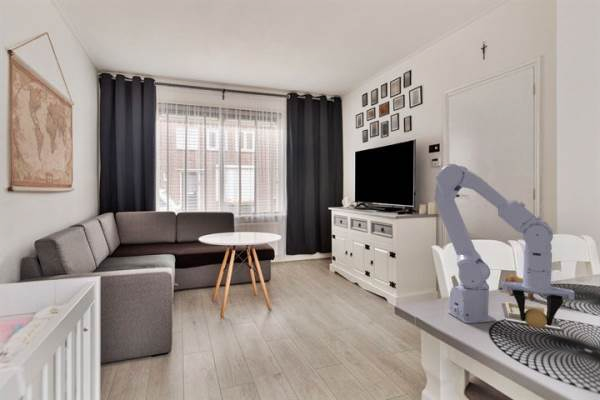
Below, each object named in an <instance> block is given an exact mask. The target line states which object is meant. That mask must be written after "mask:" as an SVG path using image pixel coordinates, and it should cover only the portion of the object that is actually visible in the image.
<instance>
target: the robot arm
mask: <svg viewBox="0 0 600 400" xmlns="http://www.w3.org/2000/svg"><path fill="white" fill-rule="evenodd" d="M435 181H436V183H435V184H436V185H435V189H434V197H433V198H434V202H435V204H436V206H437V209H438V212H439V214H440V217H441V219H442V222H443V224H444V227H445V229H446V231H447V234H448V236H449V240H450V241H451V244H452V246H453V248H454V252H455V254H456V265H457V266H458V279H459V284H458V285H457V286H453V287H452V288H451V290H450V292H449V310H447V312H448V314H450V315H451V316H454V317H455V318H456V319H459V320H460V321H462V322H464V324H465V323H466V324H473V323H474V324H475V323H487V322H496V321H497V319H496V318H495V317H492V316H490V315H489V303H490V301H489V299H490V295H489V294H490V285H489V284H488V283H487V280H488V279H489V277H490V275H491V269H490V266H489V265H488V264H487V263H486V262H485V261H484V260H483V259H482V257H481V254H480V253H479V252H478V251H477V250H476V249H475V245H474V243H473V241H472V238H471V237H470V233H469V232H468V229H467V227H466V224H465V222H464V220H463V218H462V214H461V213H460V210H459V207H458V205H457V203H456V200H455V199H456V197H457V195H458V194H459V191H460V190H462V188H465V189H469V190H473V191H474V192H476V193H477V194H478V195H480V196H481V197H482V198H483V199H485V200H486V201H487V202H488V203H490V204H491V205H492V206H493V207H495V208H496V209H497V216H499V218H501V219H502V221H504V222H505V223H506V224H507V225H509V226H510V227H511V228H512V229H513V230H514V231H516V233H519V234H520V233H521V234H522V238H523V240H524V241H525V243H524V245H525V246H524V250H523V270H522V271H523V273H522V278H523V283H518V282H508V281H507V282H505V281H502V287H501V288H503V289H502V290H503V291H505V292H507V291H508V290H509V291H511V293H513V295H512V296H513V297H514V299H515V301H516V304H518V307H519V311H520V319H521V321H525V305H526V296H525V295H526V294H528V293H532V294H533V295H540V296H546V308H547V314H546V317H547V325H548V326H551V324H552V321H553V318H554V319H555V315H557V312H558V310H559V309H560V308H561V307H562V305H563V304H564V299H568V300H570V301H571V300H572V301H573V300H575V291H574V290H572V289H567V288H562V287H556V286H552V265H553V264H552V263H553V262H552V261H553V253H552V249H553V245H552V243H551V242H552V241H553V238H554V230H553V228H552V227H551V226H550V225H549V224H548V222H546V221H542V217H541V216H539V215H538V216H536V215H535V214H534V213H532V212H531V211H530V210H528V208H526V204H525V203H524V202H522V201H520V202H518V200H515V199H514V200H511V199H510V200H508V199H506V198H505V197H504V196H503V195H502V194H501V193H500V192H498V191H497V190H496V189H495V188H493V186H491V185H490V184H489V183H488V182H487V181H485V180H484V179H483V178H482V177H480V176H479V175H478V174H476V173H474V172H472V170H469V169H468V168H467V167H465V166H463V165H457V164H456V163H448V164H446V165H443V166H442V167H441V169H440V170H439V172H438V173H437V175H436V176H435Z"/></svg>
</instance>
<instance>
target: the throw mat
mask: <svg viewBox="0 0 600 400" xmlns="http://www.w3.org/2000/svg"><path fill="white" fill-rule="evenodd" d="M501 307H502V310H503V315H504V317H505V321H506V322H508V323H512V324H519V325H523V326H529V325H528V324H527V323H526V321H521V319H520V311H519V307H518V304H517V302H516V303H515V302H508V301H505V303H501ZM532 308H535V309H539V310H541V311H542V312H543V313H544V314H545V315H546V314H547V307H541V306H534V305H530V304H529V305H528V304H525V312H526V311H527V310H528V309H532ZM542 329H548V330H553V331H559V332H562V330H563V329H562V328H561V327H560V325H559V324H558V322H557V321H556V319H555V317H554V318H553V321H552V324H551V326H548V325H547V324H546V326H544V327H543V328H542Z"/></svg>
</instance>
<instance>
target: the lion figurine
mask: <svg viewBox="0 0 600 400" xmlns="http://www.w3.org/2000/svg"><path fill="white" fill-rule="evenodd" d="M504 282H518V283H523V277H519V276H517V275H514V274H510V275H507V276H506V278H505V281H504ZM499 290H500V291H502V290H503V288H502V287H499V288H498V291H499ZM506 292H507V293H508V295H509V296H514V295H513V292H512V291H509V290H508V291H506ZM527 299H528V301H529V302H533V301H534V300H535V299H536V297H534V294H532V293H527Z"/></svg>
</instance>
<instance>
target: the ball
mask: <svg viewBox="0 0 600 400" xmlns="http://www.w3.org/2000/svg"><path fill="white" fill-rule="evenodd" d="M525 321H526V323H527V324H528V325H527V326H530V327H531V328H534V329H544V328H543V327H544V326H546V324H547V317H546V315H545V314H544V313H543V312H542V311H541V310H539V309H535V308H532V309H528V310H527V311H526V312H525Z"/></svg>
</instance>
